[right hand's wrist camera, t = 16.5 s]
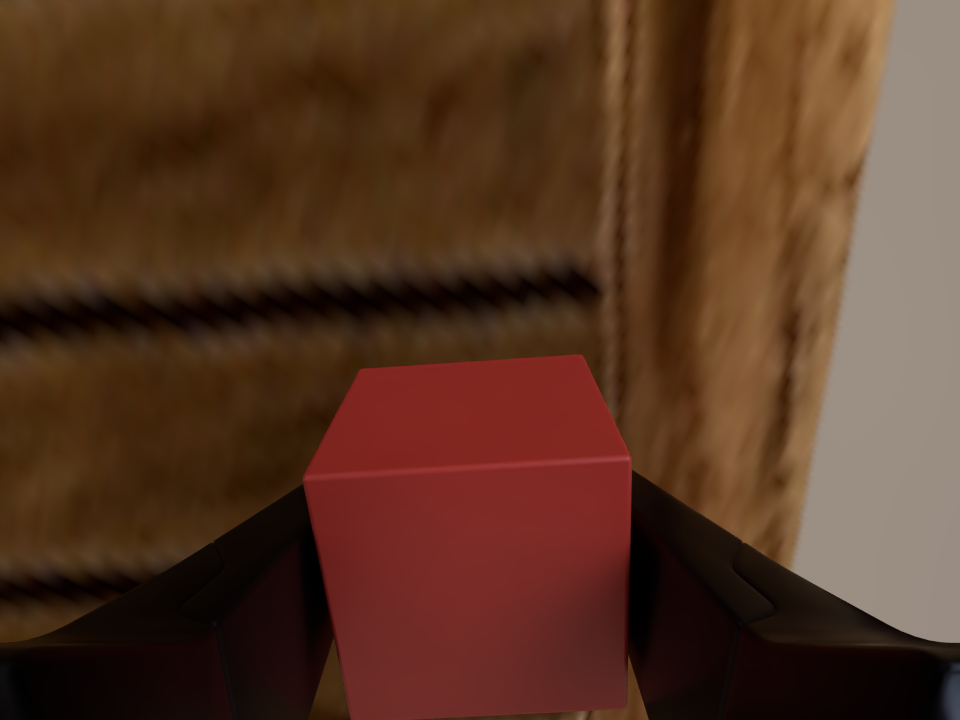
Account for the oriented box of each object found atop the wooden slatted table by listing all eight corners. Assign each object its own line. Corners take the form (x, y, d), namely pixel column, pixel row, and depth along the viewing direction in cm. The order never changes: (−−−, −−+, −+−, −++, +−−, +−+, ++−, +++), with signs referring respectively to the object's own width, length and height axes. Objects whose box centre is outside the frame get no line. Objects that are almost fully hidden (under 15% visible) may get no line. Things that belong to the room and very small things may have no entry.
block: (583, 352, 11) (634, 456, 8) (585, 546, 13) (628, 711, 9) (357, 367, 12) (298, 477, 8) (387, 557, 13) (349, 726, 9)
